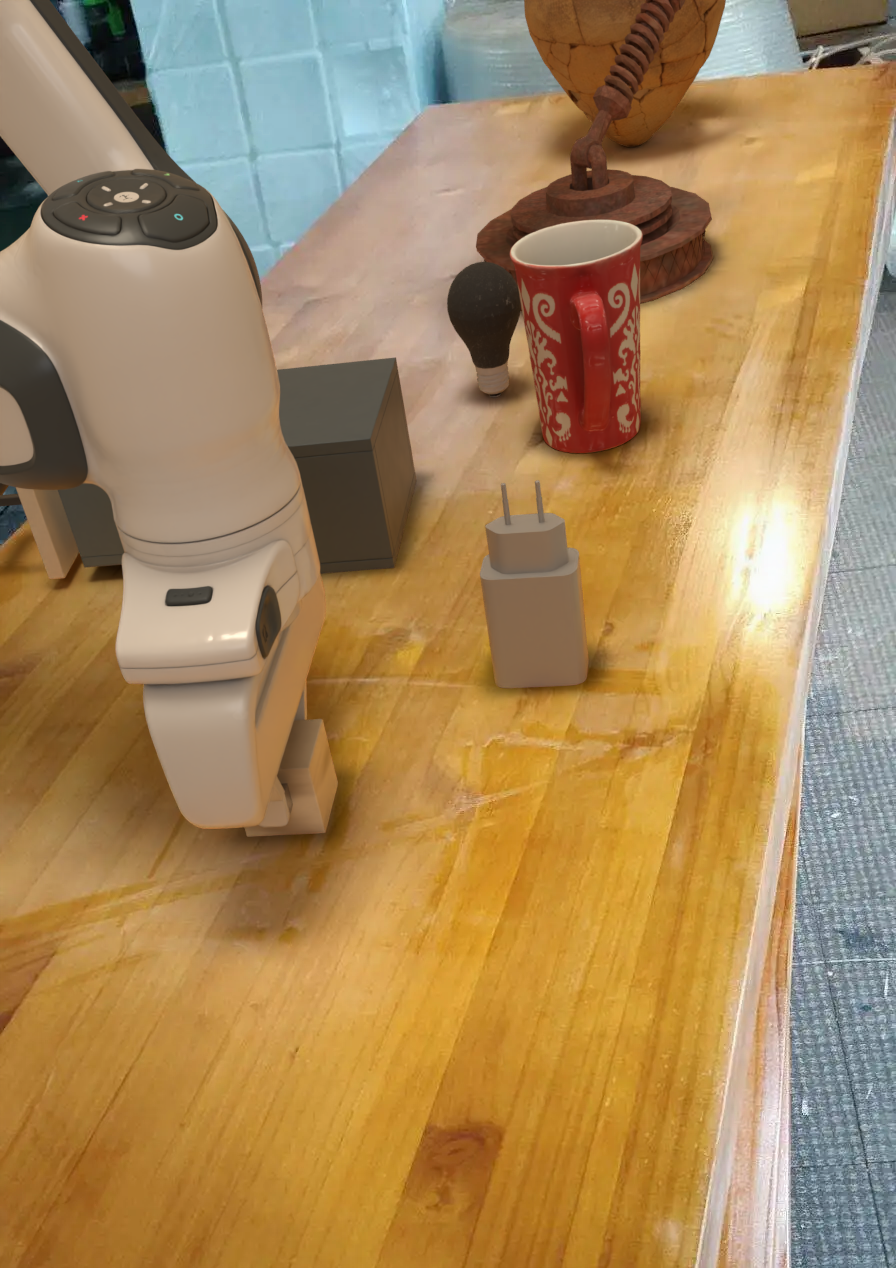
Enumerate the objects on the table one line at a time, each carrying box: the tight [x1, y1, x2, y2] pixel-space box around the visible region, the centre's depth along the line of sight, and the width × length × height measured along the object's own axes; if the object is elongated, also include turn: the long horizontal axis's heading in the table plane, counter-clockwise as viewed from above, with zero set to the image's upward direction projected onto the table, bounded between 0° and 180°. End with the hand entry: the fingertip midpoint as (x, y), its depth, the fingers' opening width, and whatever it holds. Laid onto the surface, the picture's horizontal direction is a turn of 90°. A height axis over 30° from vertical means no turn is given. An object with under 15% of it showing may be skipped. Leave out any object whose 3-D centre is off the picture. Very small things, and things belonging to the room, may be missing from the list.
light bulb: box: [446, 261, 522, 398], centre depth 112 cm, size 6×6×10 cm
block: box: [243, 718, 339, 837], centre depth 79 cm, size 4×4×4 cm
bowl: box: [523, 0, 727, 148], centre depth 151 cm, size 21×20×20 cm
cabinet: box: [277, 357, 417, 575], centre depth 101 cm, size 15×13×9 cm
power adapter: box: [479, 479, 590, 689], centre depth 82 cm, size 3×5×12 cm, turn 82°
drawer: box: [0, 483, 125, 580], centre depth 103 cm, size 18×11×7 cm, turn 84°
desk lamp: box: [475, 0, 714, 312], centre depth 118 cm, size 21×32×40 cm, turn 132°
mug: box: [510, 220, 643, 454], centre depth 103 cm, size 13×9×14 cm
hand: (286, 785), depth 79 cm, fingers closed on block, 4 cm apart
